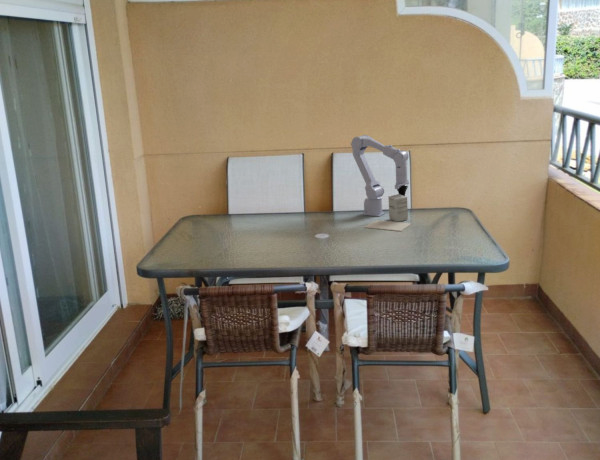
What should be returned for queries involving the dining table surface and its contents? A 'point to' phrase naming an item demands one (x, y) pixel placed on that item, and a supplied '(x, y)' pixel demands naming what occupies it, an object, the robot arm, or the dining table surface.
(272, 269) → the dining table surface
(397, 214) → the supplement box
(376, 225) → the mat
